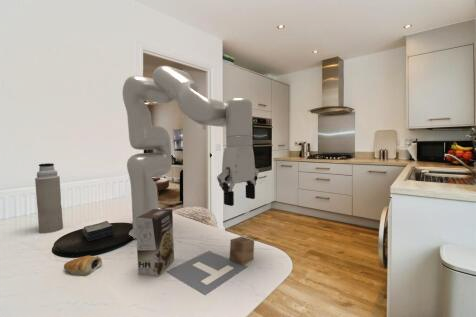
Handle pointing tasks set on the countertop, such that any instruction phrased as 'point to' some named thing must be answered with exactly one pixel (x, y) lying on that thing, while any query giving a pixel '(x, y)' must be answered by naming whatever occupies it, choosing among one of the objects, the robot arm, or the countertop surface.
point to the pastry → (83, 265)
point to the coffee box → (155, 242)
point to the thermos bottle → (48, 199)
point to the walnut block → (241, 250)
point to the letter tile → (206, 271)
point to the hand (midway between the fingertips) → (240, 201)
